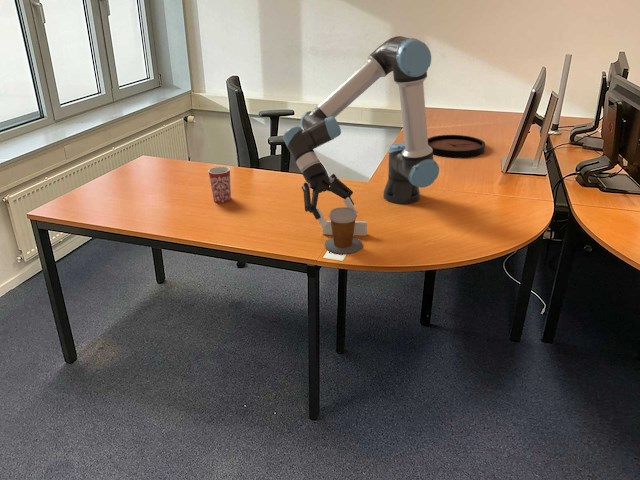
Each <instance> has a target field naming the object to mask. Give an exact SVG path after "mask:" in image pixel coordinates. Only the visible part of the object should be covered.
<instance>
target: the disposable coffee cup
mask: <svg viewBox="0 0 640 480" xmlns="http://www.w3.org/2000/svg"><path fill="white" fill-rule="evenodd" d="M356 211H357V210H356ZM356 211H355V210H354V209H351V208H347V206H341V207H335V208H333V209H331V210H330V211H329V212H330V213H329V214H328V218H329V221H331V227H332V234H333V235H332V238H333V241H334V245H335V246H336V247H339V248H347V247H350V246H351V245H352V240H353V237H354V235H353V233H354V226H355V221H357V220H356V219H357V217H358V213H357V214H356Z"/></svg>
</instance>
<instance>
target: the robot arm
mask: <svg viewBox="0 0 640 480" xmlns="http://www.w3.org/2000/svg"><path fill="white" fill-rule="evenodd" d="M431 53H432V52H431V49H430V48H429V46H428V45H427V44H426V43H424V42H423V41H421V40H420V39H417V38H413V37H411V38H410V37H406V36H401V35H399V36H394V37H390V38H389V39H386V41H384V42H382V44H380V46H378V47H377V48H376V49H375V50H374V51H372V52H371V54H369V55H368V56H367V61H365V62H364V63H363V64H362V65H361V66H360V67H359V68H358V69H357V70H356V71H354V72H353V74H351V75H350V76H348V78H347V79H346V80H345V81H344V82H343V83H341V85H339V86H338V87H337V88H336V89H335V90H334V91H332V92H331V94H330V95H328V96H327V97H326V98H325V99H324V100H323V101H321V103H319V104H318V105H317V106H316V107H315V108H314V109H312V110H309V111H308V110H307V111H305V112H304V113H303V114H302V115H301V118H300V125H301V126H298V125H296V126H293V127H290V128H288V129H287V130H286V131H285V132H284V133H283V135H282V136H283V137H282V139H283V141H284V143H285V145H286V148H287V149H288V151H289V153H290V155H291V156H292V158H293V160H294V161H295V163H296V165H297V167H298V170H299V171H300V172H301V173H302V176H303V179H305V182H304V183H303V184H302V185H301V189H302V192H303V200H304V201H303V202H304V211H305V212H309V213H310V214H312V215H313V216H314V218H315V220H317V221H318V223H319V224H320V227H321V228H322V229H323V228H325V227H326V226H327V225H328V223H327V221H328V220H327V219H326V218H325V217H324V215H323V212H322V210H321V209H320V207H317V206H318V200H319V194H321V193H323V192H331V193H332V194H335V195H336V196H338V197H340V198H342V199H343V203H344V205H345V207H346V208H351V209H354V210H355V211H356V214H357V215H358V211H357V209H356V207H355V203H354V201H353V199H352V197H351V196H352V195H353V194H354V191H353V190H351V188H349V187H348V186H347V185H346V184H344V183H343V182H342V181H341V179H339V178H338V177H337V176H336V174H335V173H332V174H331V175H330V176H328V175H327V173H326V169H325V168H324V166H323V164H322V163H321V161H320V159H319V157H318V155H317V154H316V152H315V150H314V149H316V148H318V147H321V146H323V145H324V144H326V143H329V142H330V141H334V140H335V139H336V138H338V137H340V135H341V134H342V130H341V127H340V124H339V122H338V121H337V119H336V118H337V116H339V115H340V114H341V113H343V111H345V110H346V109H347V108H348V107H349V106H351V104H352V103H353V102H354V101H356V99H358V98H359V97H360V96H361V95H362V94H364V93H365V92H366V91H367V90H368V89H370V87H371V86H372V85H373V84H375V83H376V81H378V80H379V79H380V78H385V77H386V76H387V75H389V74H390V73H393V75H392V76H393V82H394V83H396V85H398V91H399V99H400V110H401V111H400V112H401V119H402V120H401V121H402V130H403V138H404V142H403V141H402V142H396V143H392V144H391V145H390V146H389V149H388V172H387V173H388V175H387V177H388V178H387V182H386V184H385V186H384V189H383V194H382V195H383V198H384V200H385V199H386V200H385V201H387V200H388V201H387V202H390V203H393V202H394V204H401V203H403V204H412V203H416V202H417V201H419V200H420V197H421V196H420V195H421V192H420V188H427V187H430V186H431V185H432V184H433V183H435V181H436V180H437V179H438V177H439V173H440V166H439V164H438V162H437V161H436V160H435V159H434V155H433V149H432V148H431V147H430V146H429V145H428V138H429V137H428V125H427V117H426V116H427V115H426V114H427V113H426V102H425V101H426V100H425V89H424V88H425V87H424V81H425V80H426V79H427V77H428V69H429V68H430V67H431V63H432V54H431ZM310 189H311V190H312V193H311V190H310ZM311 195H312V197H311Z"/></svg>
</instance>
